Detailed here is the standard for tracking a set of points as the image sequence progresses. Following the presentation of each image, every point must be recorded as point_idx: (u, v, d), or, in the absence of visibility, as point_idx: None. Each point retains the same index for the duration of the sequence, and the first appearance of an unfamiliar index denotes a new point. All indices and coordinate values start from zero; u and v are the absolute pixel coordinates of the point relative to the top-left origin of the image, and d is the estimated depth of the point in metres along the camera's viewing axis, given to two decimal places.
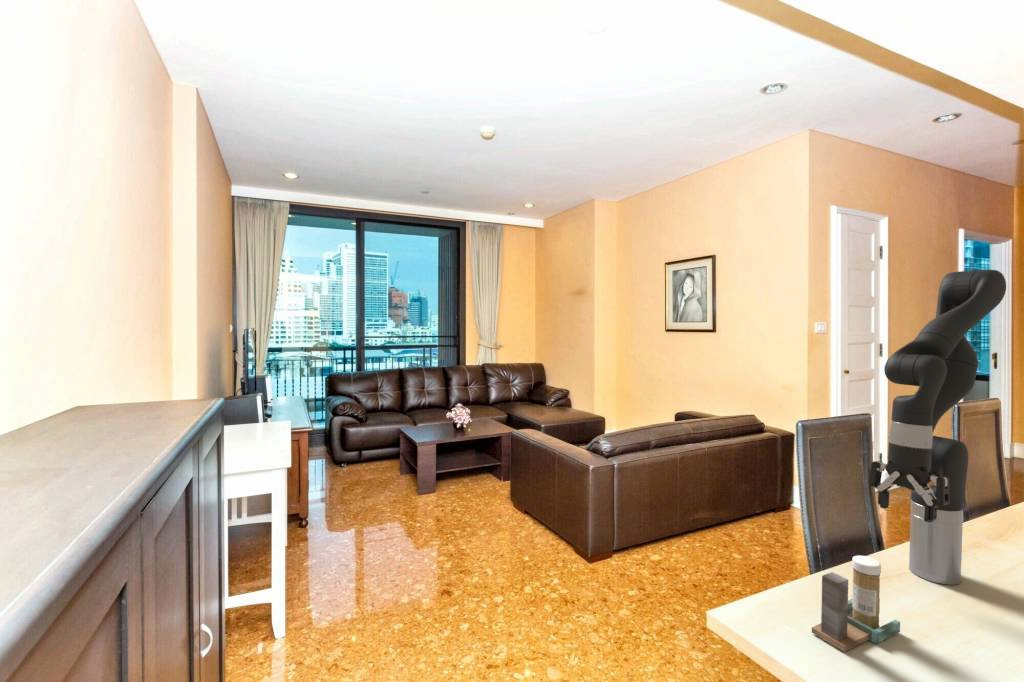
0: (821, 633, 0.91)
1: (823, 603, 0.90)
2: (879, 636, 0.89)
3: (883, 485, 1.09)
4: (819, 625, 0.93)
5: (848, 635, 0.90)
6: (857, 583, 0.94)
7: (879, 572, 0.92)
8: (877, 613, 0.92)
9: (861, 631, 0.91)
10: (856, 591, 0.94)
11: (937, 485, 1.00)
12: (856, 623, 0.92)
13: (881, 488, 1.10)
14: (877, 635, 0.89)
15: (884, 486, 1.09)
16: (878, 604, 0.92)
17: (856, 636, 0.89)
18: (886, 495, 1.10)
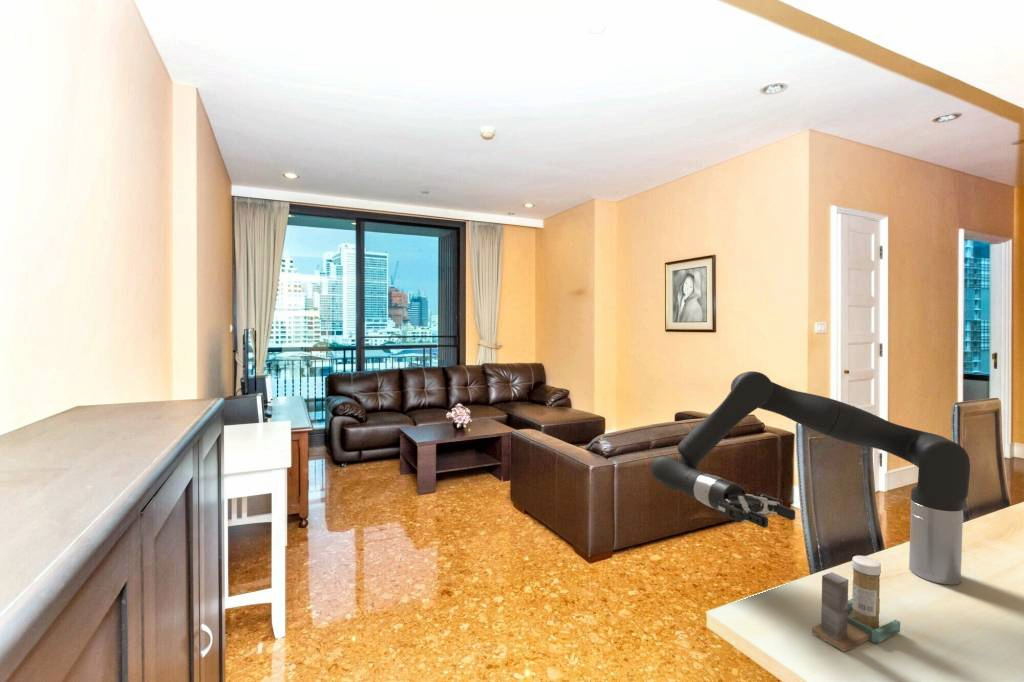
0: (821, 633, 0.91)
1: (823, 603, 0.90)
2: (879, 636, 0.89)
3: None
4: (819, 625, 0.93)
5: (848, 635, 0.90)
6: (857, 583, 0.94)
7: (879, 572, 0.92)
8: (877, 613, 0.92)
9: (861, 631, 0.91)
10: (856, 591, 0.94)
11: None
12: (856, 623, 0.92)
13: None
14: (877, 635, 0.89)
15: None
16: (878, 604, 0.92)
17: (856, 636, 0.89)
18: (779, 511, 1.04)
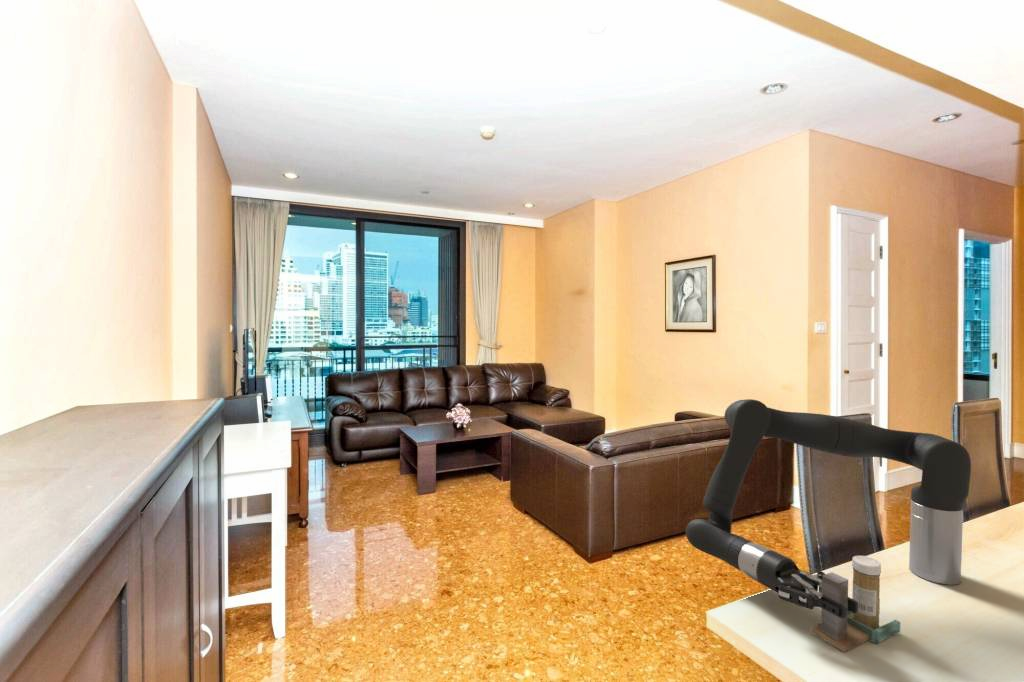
0: (821, 633, 0.91)
1: None
2: (879, 636, 0.89)
3: None
4: (819, 625, 0.93)
5: (848, 635, 0.90)
6: (857, 583, 0.94)
7: (879, 572, 0.92)
8: (877, 613, 0.92)
9: (861, 631, 0.91)
10: (856, 591, 0.94)
11: None
12: (856, 623, 0.92)
13: None
14: (877, 635, 0.89)
15: None
16: (878, 604, 0.92)
17: (856, 636, 0.89)
18: None
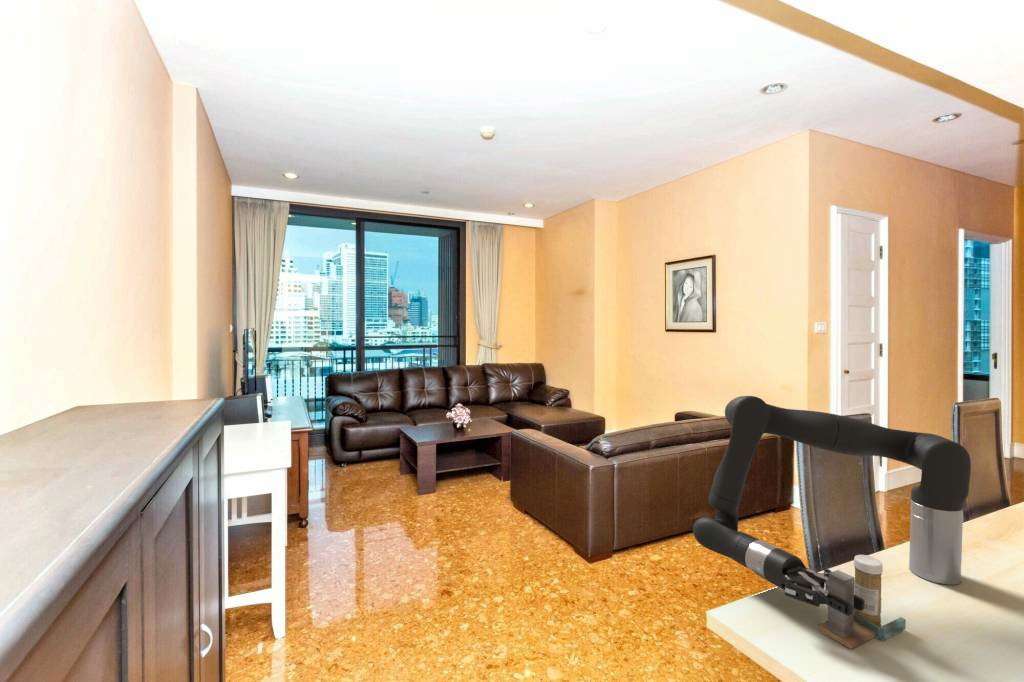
0: (827, 630, 0.91)
1: None
2: (885, 633, 0.90)
3: None
4: (825, 622, 0.93)
5: (854, 632, 0.90)
6: (859, 582, 0.94)
7: (881, 571, 0.92)
8: (879, 612, 0.93)
9: (867, 628, 0.92)
10: (858, 590, 0.94)
11: None
12: (862, 620, 0.93)
13: None
14: (883, 632, 0.90)
15: None
16: (880, 603, 0.93)
17: (862, 633, 0.90)
18: None
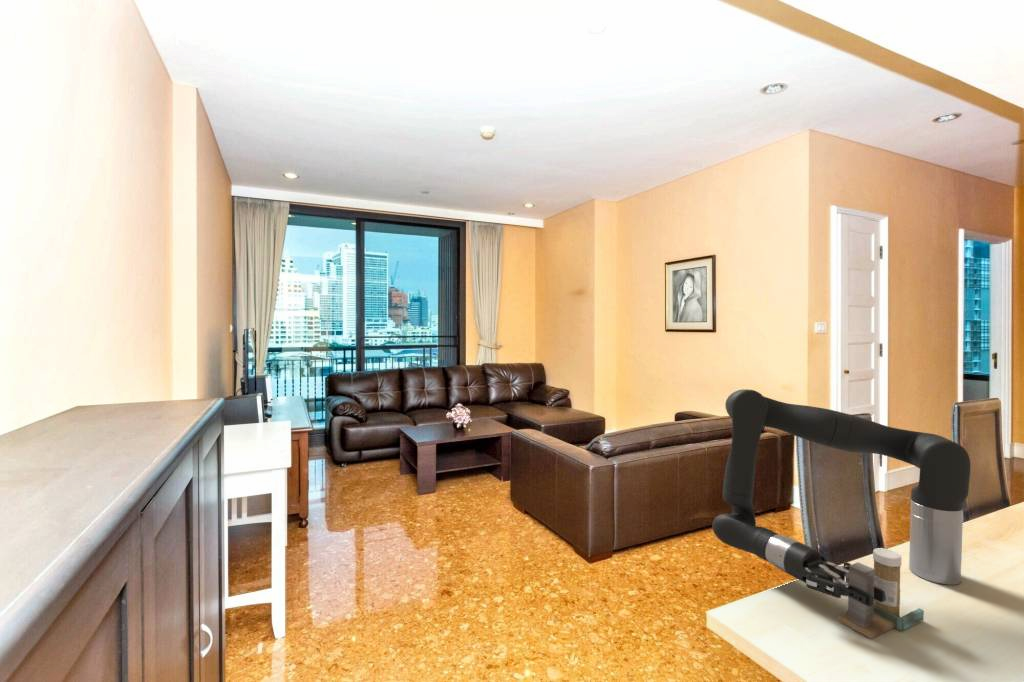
0: (848, 621, 0.94)
1: None
2: (904, 624, 0.93)
3: None
4: (845, 613, 0.96)
5: (874, 623, 0.93)
6: (878, 575, 0.97)
7: (900, 564, 0.95)
8: (898, 603, 0.95)
9: (886, 619, 0.94)
10: (877, 582, 0.97)
11: None
12: (881, 611, 0.95)
13: None
14: (903, 622, 0.92)
15: None
16: (899, 595, 0.95)
17: (881, 624, 0.93)
18: None
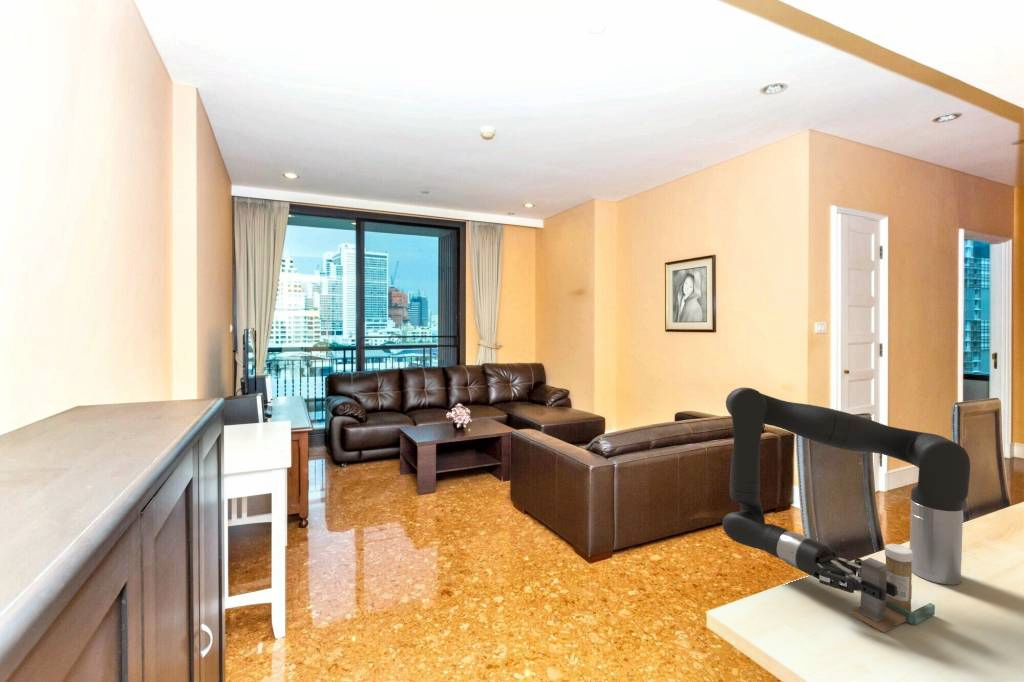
0: (860, 615, 0.96)
1: None
2: (916, 618, 0.94)
3: None
4: (858, 608, 0.98)
5: (887, 617, 0.95)
6: (890, 570, 0.98)
7: (911, 559, 0.97)
8: (909, 598, 0.97)
9: (898, 613, 0.96)
10: (889, 578, 0.98)
11: None
12: (893, 606, 0.97)
13: None
14: (914, 617, 0.94)
15: None
16: (910, 590, 0.97)
17: (894, 618, 0.95)
18: None
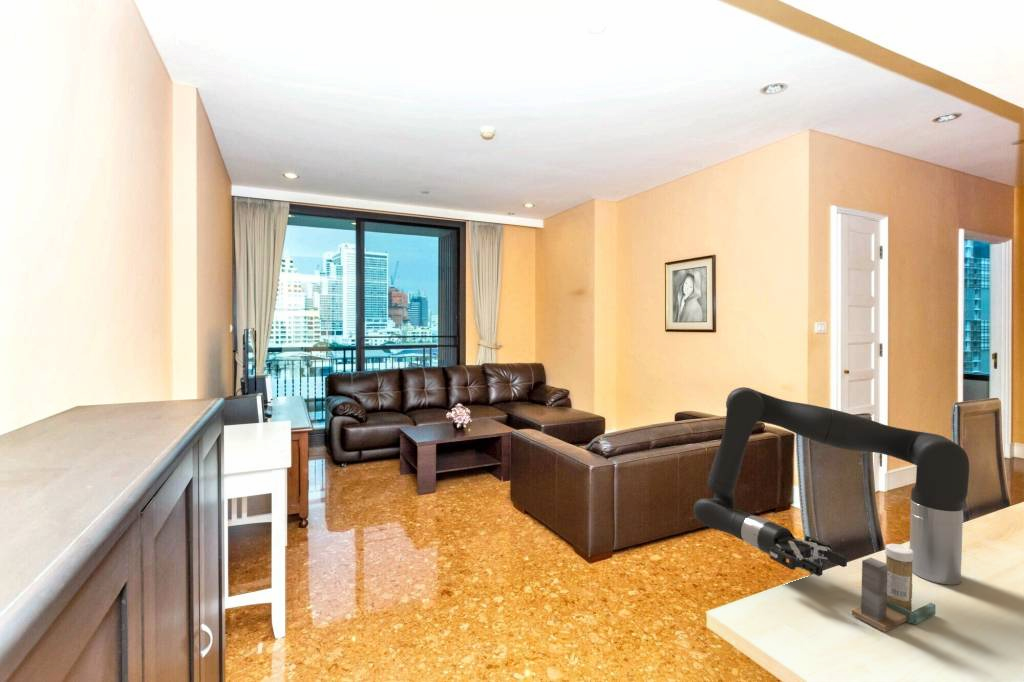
0: (861, 615, 0.96)
1: (863, 586, 0.96)
2: (916, 617, 0.94)
3: None
4: (858, 608, 0.98)
5: (887, 617, 0.95)
6: (890, 570, 0.98)
7: (912, 559, 0.97)
8: (910, 598, 0.97)
9: (899, 613, 0.96)
10: (890, 577, 0.99)
11: None
12: (894, 606, 0.97)
13: None
14: (915, 616, 0.94)
15: None
16: (911, 589, 0.97)
17: (894, 618, 0.95)
18: (830, 557, 1.07)
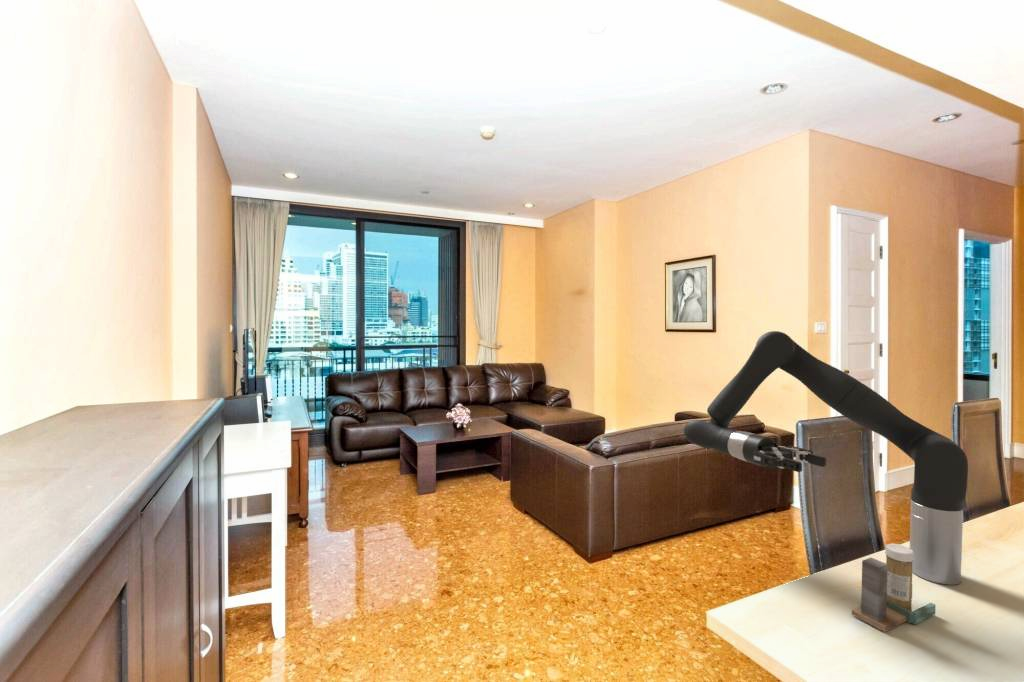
0: (861, 615, 0.96)
1: (863, 586, 0.96)
2: (916, 617, 0.94)
3: None
4: (858, 608, 0.98)
5: (887, 617, 0.95)
6: (890, 570, 0.98)
7: (912, 559, 0.97)
8: (910, 598, 0.97)
9: (899, 613, 0.96)
10: (890, 577, 0.99)
11: None
12: (894, 606, 0.97)
13: None
14: (915, 616, 0.94)
15: None
16: (911, 589, 0.97)
17: (894, 618, 0.95)
18: (811, 459, 1.12)
